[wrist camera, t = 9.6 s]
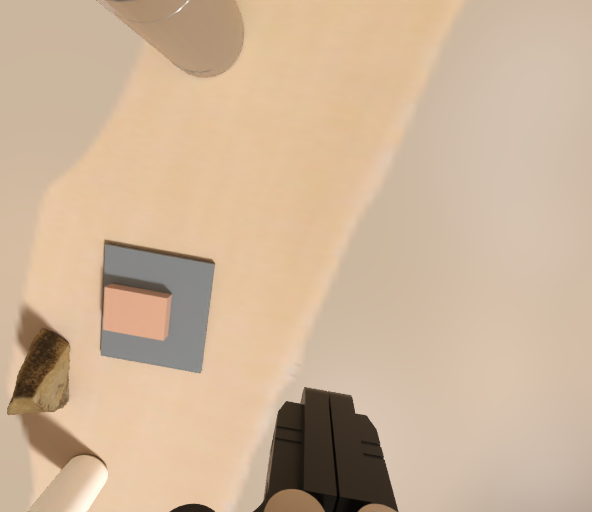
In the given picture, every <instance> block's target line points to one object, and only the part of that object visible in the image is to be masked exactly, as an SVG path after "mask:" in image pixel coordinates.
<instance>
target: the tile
mask: <svg viewBox="0 0 592 512" xmlns="http://www.w3.org/2000/svg"><path fill="white" fill-rule="evenodd" d="M171 300H172V294H168V293H162V292H157V291H151V290H146V289H140V288H135V287H129V286H124V285H118V284H113V283H111V284H109V285H107V286H106V287H105V290H104V315H103V330H106V331H112V332H117V333H123V334H129V335H134V336H140V337H145V338H151V339H156V340H162V341H164V340H165V338H166V337H167V336H168V332H169V321H170V310H171Z"/></svg>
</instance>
